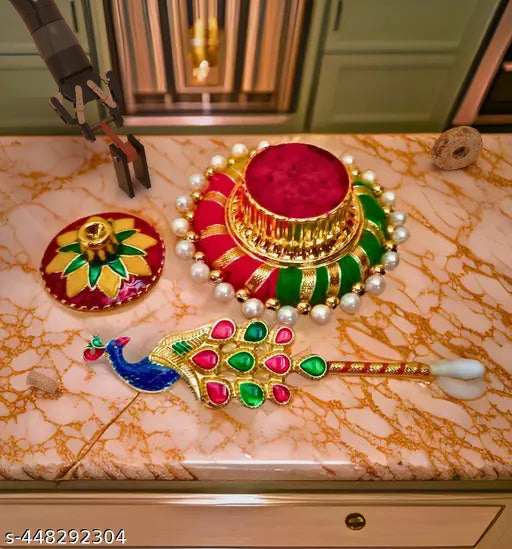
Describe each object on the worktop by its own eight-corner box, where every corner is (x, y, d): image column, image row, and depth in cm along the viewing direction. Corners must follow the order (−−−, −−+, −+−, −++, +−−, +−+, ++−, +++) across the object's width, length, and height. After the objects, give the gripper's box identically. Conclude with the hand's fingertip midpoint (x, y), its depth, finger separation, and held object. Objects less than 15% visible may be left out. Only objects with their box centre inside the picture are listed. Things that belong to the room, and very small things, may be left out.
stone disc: (429, 173, 125) (443, 139, 116) (424, 161, 127) (438, 126, 118) (475, 169, 126) (492, 136, 117) (469, 157, 128) (486, 123, 119)
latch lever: (88, 132, 113) (86, 123, 111) (112, 120, 115) (110, 111, 113) (120, 167, 110) (119, 159, 107) (144, 154, 112) (143, 146, 109)
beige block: (38, 376, 97) (29, 364, 92) (64, 385, 96) (56, 374, 92) (30, 390, 95) (20, 379, 91) (55, 400, 94) (47, 389, 90)
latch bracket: (104, 184, 120) (92, 138, 109) (136, 166, 123) (127, 120, 112) (135, 216, 116) (125, 172, 105) (167, 197, 119) (161, 152, 108)
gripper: (29, 61, 102) (80, 149, 107) (99, 31, 107) (144, 115, 113) (23, 71, 108) (71, 152, 114) (89, 42, 114) (132, 121, 119)
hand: (107, 134), depth 113 cm, fingers closed on latch lever, 5 cm apart
